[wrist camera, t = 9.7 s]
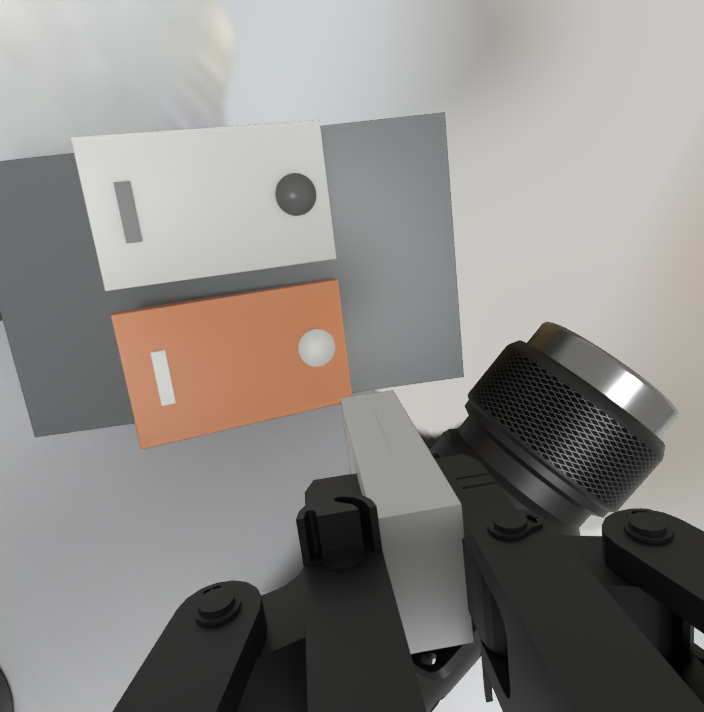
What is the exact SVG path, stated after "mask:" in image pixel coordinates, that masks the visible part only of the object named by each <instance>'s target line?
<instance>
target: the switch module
mask: <svg viewBox="0 0 704 712" xmlns="http://www.w3.org/2000/svg"><path fill="white" fill-rule="evenodd" d="M320 129H321V137H322V145H323V153H324V161H325V170H326V178H327V186H328V194H329V202H330V210H331V218H332V227H333V235H334V243H335V251H336V259H331V260H324V261H317V262H310V263H302V264H295V265H288V266H281V267H274V268H267V269H260V270H252V271H245V272H238V273H231V274H224V275H217V276H210V277H202V278H195V279H188V280H181V281H174V282H167V283H160V284H152V285H145V286H138V287H131V288H124V289H117V290H110V291H105V287H104V283H103V278H102V274H101V269H100V265H99V261H98V256H97V252H96V247H95V243H94V238H93V234H92V230H91V225H90V221H89V216H88V212H87V208H86V203H85V199H84V194H83V190H82V185H81V181H80V177H79V172H78V168H77V163H76V159H75V154H74V153H70V154H61V155H52V156H43V157H34V158H25V159H16V160H7V161H0V320H3V323H4V326H5V330H6V334H7V337H8V341H9V345H10V348H11V352H12V355H13V359H14V363H15V366H16V370H17V374H18V377H19V381H20V385H21V388H22V392H23V395H24V399H25V403H26V406H27V410H28V414H29V417H30V421H31V425H32V428H33V432H34V435H35V437H40V436H48V435H55V434H62V433H69V432H76V431H83V430H90V429H97V428H104V427H111V426H118V425H126V424H133V423H135V419H134V415H133V410H132V406H131V401H130V397H129V393H128V388H127V384H126V379H125V375H124V370H123V366H122V362H121V357H120V353H119V348H118V344H117V340H116V335H115V331H114V326H113V322H112V317H111V315H112V312H117V311H124V310H130V309H137V308H143V307H149V306H156V305H162V304H169V303H175V302H182V301H188V300H194V299H201V298H207V297H214V296H220V295H227V294H233V293H239V292H246V291H252V290H259V289H265V288H272V287H278V286H284V285H291V284H297V283H304V282H310V281H317V280H323V279H329V278H331V279H336V280H338V284H339V292H340V300H341V308H342V317H343V325H344V333H345V341H346V349H347V357H348V365H349V373H350V381H351V390H352V392H359V391H367V390H374V389H381V388H388V387H395V386H402V385H409V384H416V383H423V382H430V381H437V380H445V379H452V378H459V377H464V374H463V360H462V346H461V332H460V318H459V304H458V290H457V276H456V262H455V248H454V235H453V220H452V206H451V192H450V178H449V163H448V151H447V135H446V121H445V112H443V113H434V114H424V115H415V116H406V117H397V118H388V119H379V120H370V121H361V122H352V123H343V124H334V125H325V126H320Z"/></svg>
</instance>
